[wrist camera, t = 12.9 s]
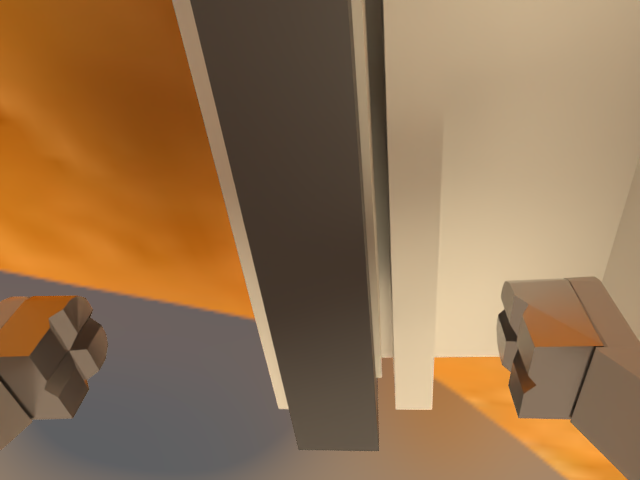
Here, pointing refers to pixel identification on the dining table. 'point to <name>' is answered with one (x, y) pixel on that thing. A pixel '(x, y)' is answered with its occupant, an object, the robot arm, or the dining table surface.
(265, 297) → the picture frame
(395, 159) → the picture ledge
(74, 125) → the dining table surface
